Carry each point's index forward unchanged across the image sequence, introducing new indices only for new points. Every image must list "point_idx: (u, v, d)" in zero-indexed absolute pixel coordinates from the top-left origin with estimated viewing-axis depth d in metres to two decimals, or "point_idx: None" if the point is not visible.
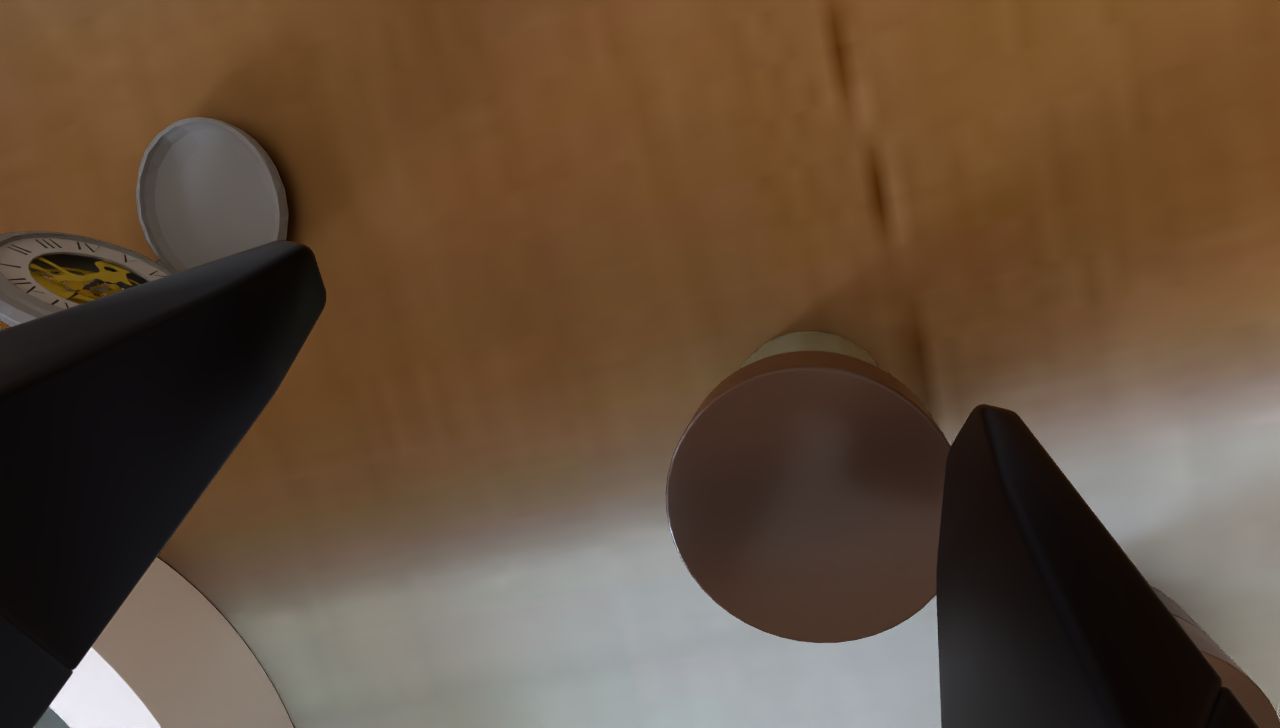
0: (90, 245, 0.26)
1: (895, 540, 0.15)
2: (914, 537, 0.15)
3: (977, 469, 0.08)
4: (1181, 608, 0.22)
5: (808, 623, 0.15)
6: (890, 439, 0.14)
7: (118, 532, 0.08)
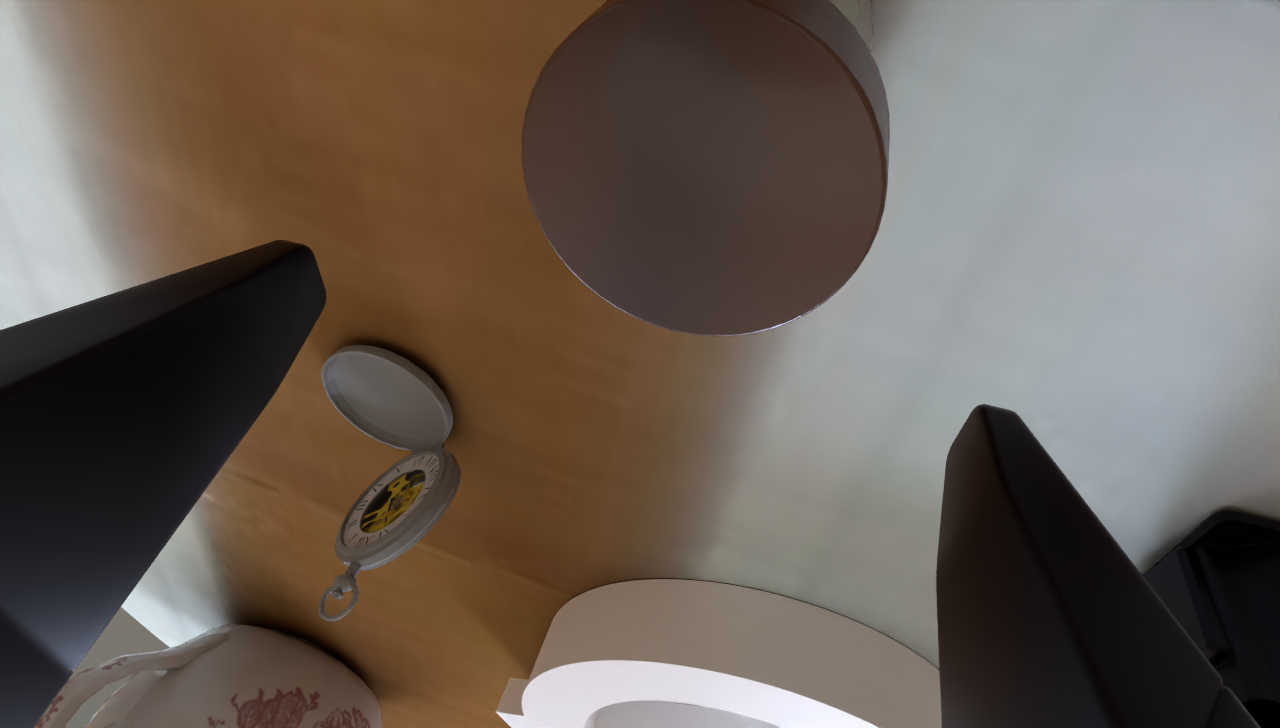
0: (379, 483, 0.34)
1: (772, 122, 0.11)
2: (780, 98, 0.10)
3: (977, 469, 0.08)
4: None
5: (825, 267, 0.12)
6: (642, 61, 0.11)
7: (118, 531, 0.08)
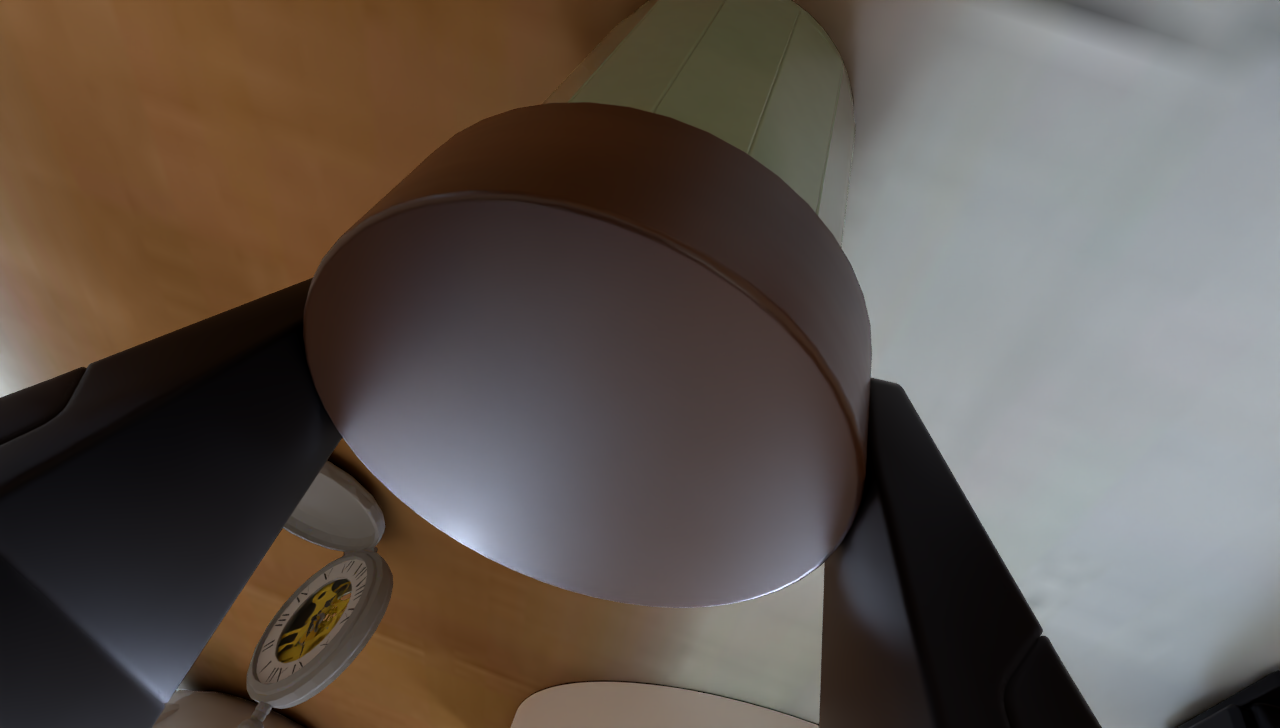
0: (304, 591, 0.30)
1: (673, 383, 0.06)
2: (684, 354, 0.06)
3: None
4: None
5: (774, 556, 0.08)
6: (456, 285, 0.06)
7: (213, 561, 0.08)
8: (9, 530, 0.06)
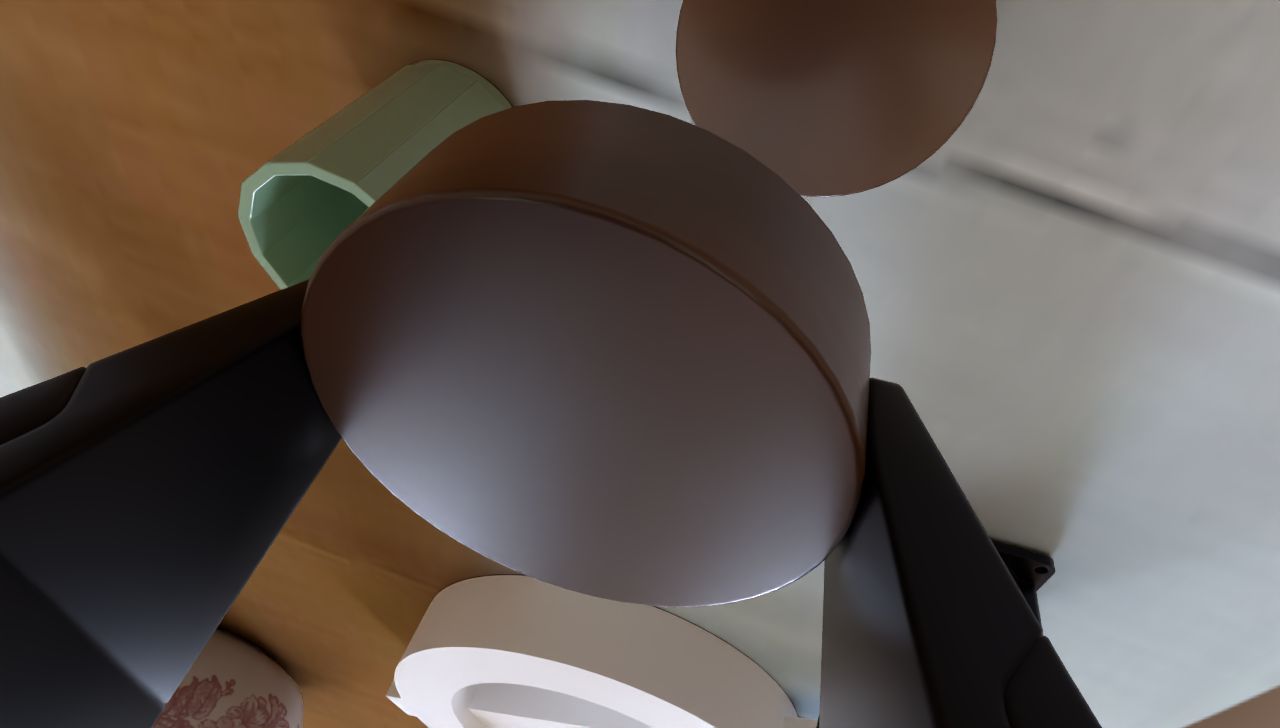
0: None
1: (672, 381, 0.06)
2: (682, 352, 0.06)
3: None
4: None
5: (773, 555, 0.08)
6: (454, 283, 0.06)
7: (213, 561, 0.08)
8: (11, 530, 0.06)
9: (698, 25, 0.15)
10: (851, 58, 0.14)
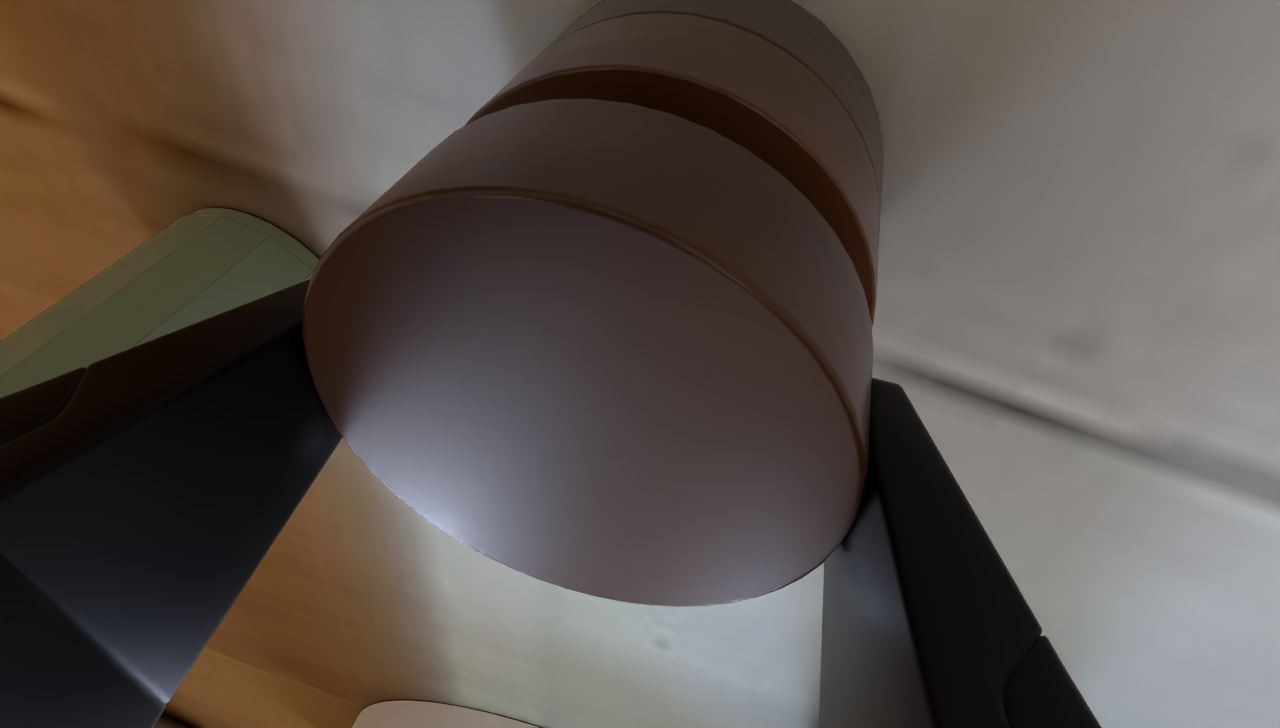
0: None
1: (675, 379, 0.06)
2: (685, 351, 0.06)
3: None
4: None
5: (775, 554, 0.08)
6: (456, 282, 0.06)
7: (212, 561, 0.08)
8: (9, 530, 0.06)
9: None
10: None
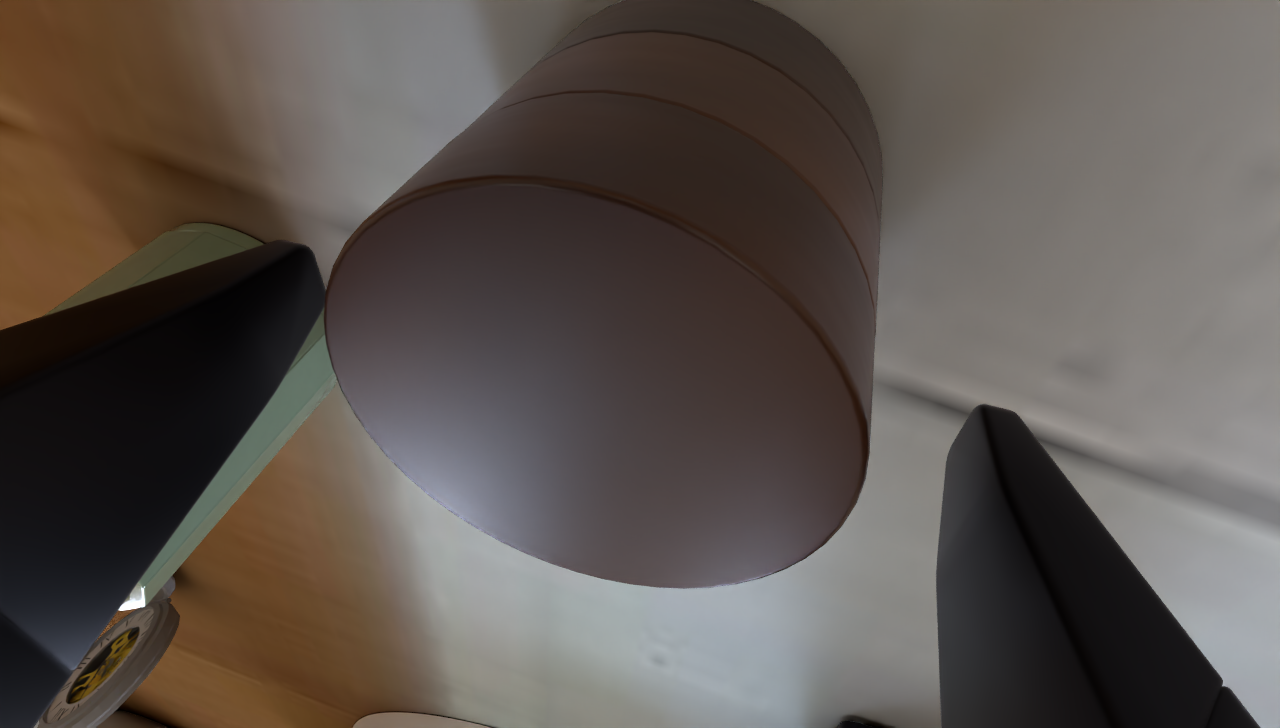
0: (108, 636, 0.34)
1: (685, 362, 0.07)
2: (695, 335, 0.06)
3: (977, 469, 0.08)
4: (615, 6, 0.10)
5: (780, 535, 0.08)
6: (475, 268, 0.07)
7: (118, 531, 0.08)
8: None
9: None
10: None
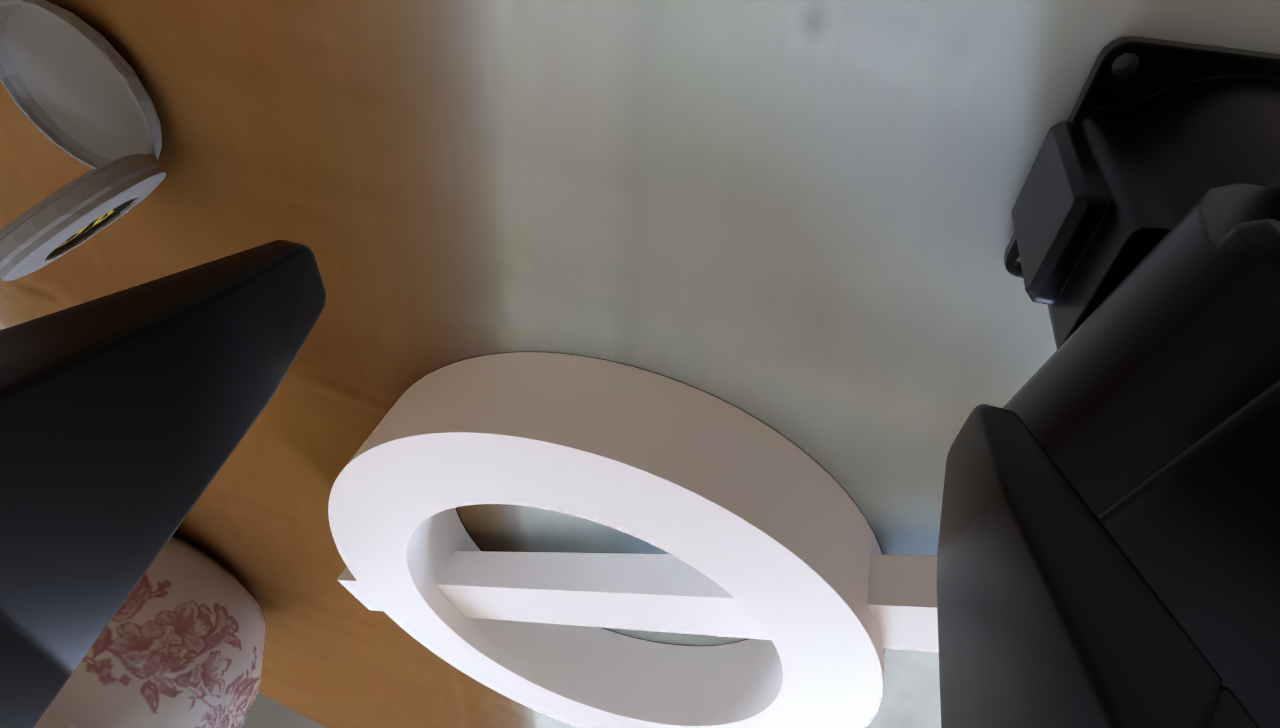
0: None
1: None
2: None
3: (977, 469, 0.08)
4: None
5: None
6: None
7: (118, 531, 0.08)
8: None
9: None
10: None
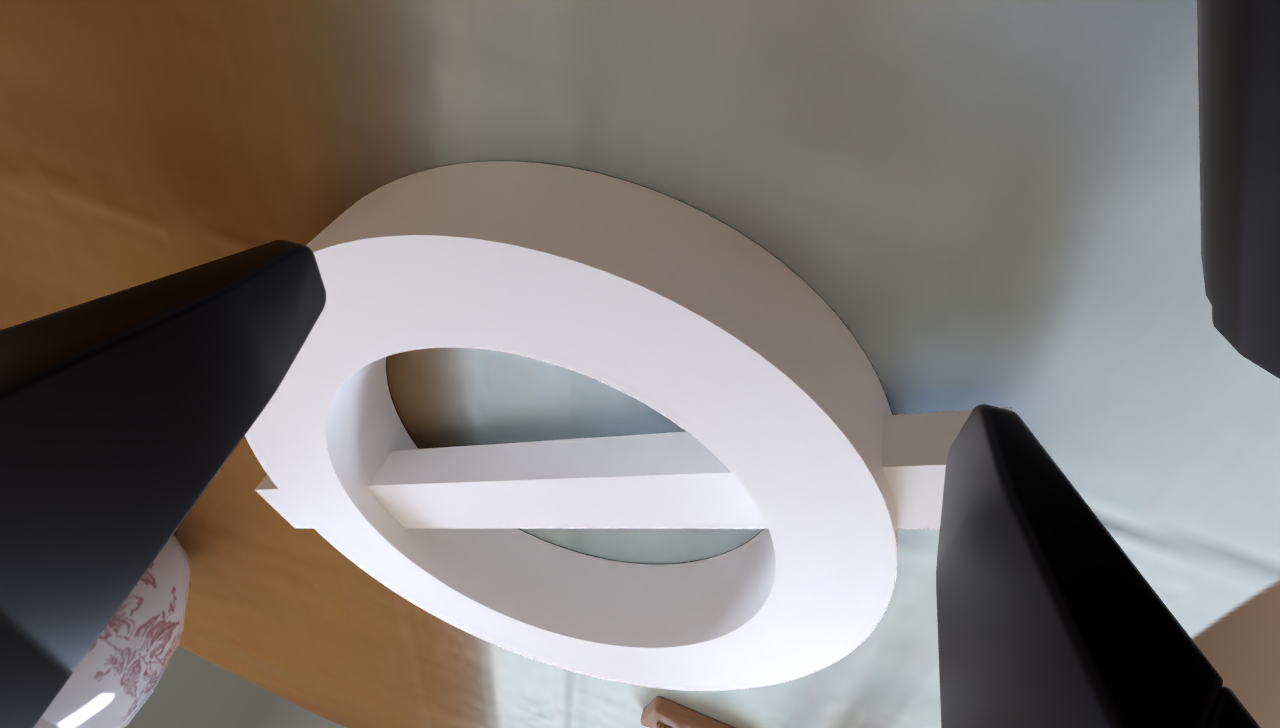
0: None
1: None
2: None
3: (977, 469, 0.08)
4: None
5: None
6: None
7: (118, 531, 0.08)
8: None
9: None
10: None
